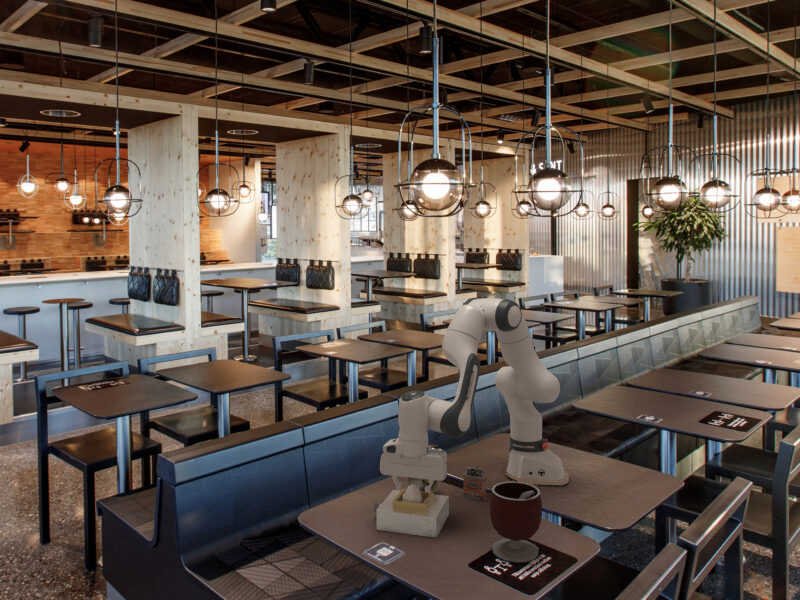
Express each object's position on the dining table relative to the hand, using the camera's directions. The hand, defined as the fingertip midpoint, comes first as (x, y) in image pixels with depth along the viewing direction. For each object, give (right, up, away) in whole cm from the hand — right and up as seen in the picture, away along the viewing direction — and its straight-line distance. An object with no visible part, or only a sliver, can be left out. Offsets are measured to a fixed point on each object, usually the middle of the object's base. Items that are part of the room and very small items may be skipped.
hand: (413, 491), depth 192 cm
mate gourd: (+28, -11, -18) cm, 35 cm away
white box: (-1, -10, +1) cm, 10 cm away
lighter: (+21, -8, +20) cm, 30 cm away
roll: (0, -10, +1) cm, 10 cm away
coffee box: (+4, -8, +23) cm, 24 cm away
